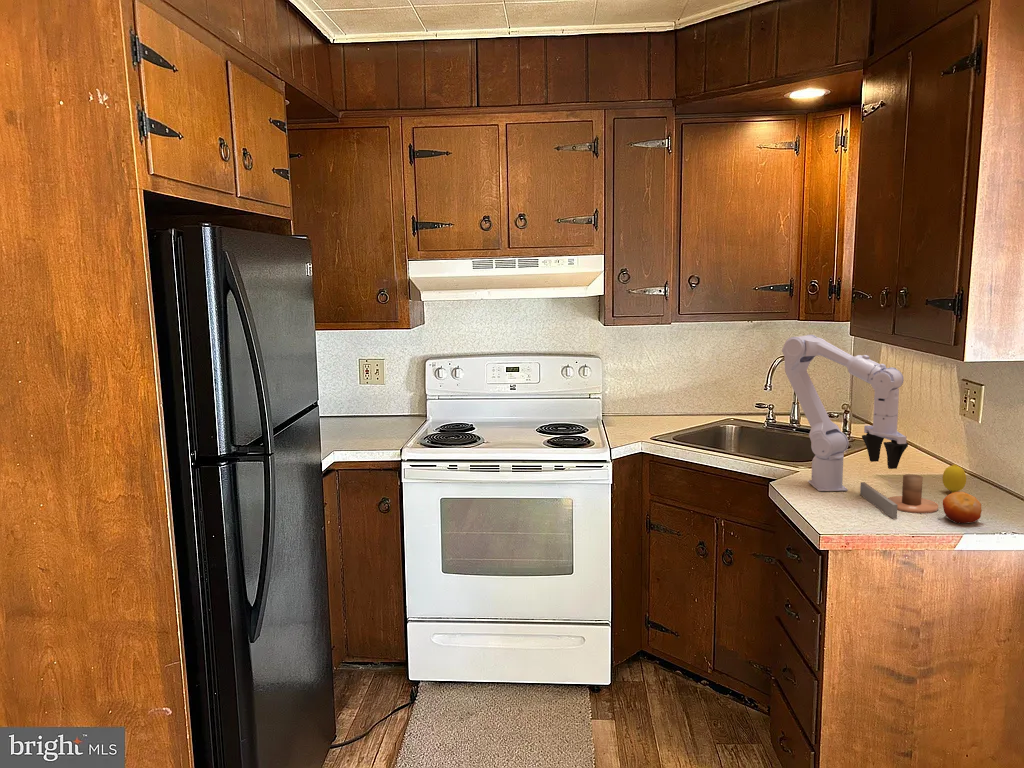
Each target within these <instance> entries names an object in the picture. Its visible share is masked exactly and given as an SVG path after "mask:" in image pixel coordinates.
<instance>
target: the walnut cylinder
mask: <svg viewBox="0 0 1024 768" xmlns="http://www.w3.org/2000/svg"><path fill="white" fill-rule="evenodd" d="M923 479H924V478H923V476H922V475H920V474H913V473H911V474H910V473H908V474H903V475H902V492H901V496H902V503H904V504H907V505H914V506H917V505H921V499H922V498H923V497H922V495H923Z"/></svg>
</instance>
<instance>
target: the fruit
mask: <svg viewBox="0 0 1024 768" xmlns="http://www.w3.org/2000/svg"><path fill="white" fill-rule="evenodd" d="M942 509H943V513H944V514H945V515H944V516H943V517H944V518H945V517H947V519H948V520H950V521H951V522H954V523H955V524H958V523H960V525H961V524H970V523H975V522H977V521H978V520H980V519H981V516H982V511H983V510H982V504H981V502H980V501H979V500H978V498H976V497H975V496H973V495H972V494H969V493H967V492H964V491H957V492H954V493H952V492H951V493H949V494H947V495H946V496H945V497H944V498H942Z"/></svg>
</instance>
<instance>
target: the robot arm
mask: <svg viewBox="0 0 1024 768" xmlns="http://www.w3.org/2000/svg"><path fill="white" fill-rule="evenodd" d="M781 353H782V354H783V357H784V373H785V375H786V377H787V380H788V381H789V383H790V385H791V387H792V389H793V393H795V396H796V398H797V401H798V402H799V405H800V406H801V409H802V410H803V413H804V415H805V417H806V419H807V421H808V425H809V427H810V431H809V434H808V437H809V439H810V442H811V443H810V444H811V445H810V448H811V451H812V453H813V454H814V457H813V458H812V461H811V476H810V477H811V479H809V480H807V482H808V484H810V485H811V486H812V487H813V488H815V489H816V490H817V491H818V492H848V490H849V489H848V488H847V487H846V486H844V485H843V481H844V480H843V479H844V478H843V476H844V453H845V452H846V451H847V450H848V448H849V443H850V442H849V438H848V437H847V435H846V434H845V433H844V432H842V431H841V429H840V427H839V425H838V424H836V423H835V422H833V421H832V420H831V418H830V417H829V414H828V412H827V410H826V408H825V406H824V404H823V401H822V400H821V398H820V396H819V394H818V391H817V390H816V388H815V385H814V383H813V381H812V379H811V377H810V376H809V375H810V374H809V372H808V371H807V370H808V368H809V366H810V364H811V362H812V361H813V360H814V359H815V358H816V357H823V358H825V359H827V360H829V361H832V362H834V363H837V364H839V365H841V366H844V367H846V368H847V372H848V373H849V374H850V375H852V376H853V377H856V378H857V379H860V380H861V381H863V382H865V383H868V384H870V386H871V387H872V389H873V390H874V397H873V415H872V416H873V417H872V425H869V424H868V425H864V426H863V427H864V431H863V432H864V434H863V435H861V439H862V441H863V442H864V444H865V446H866V447H865V448H866V451H867V455H868V458H869V459H868V460H869V462H870V463H872V462H874V463H875V462H879V459H880V457H881V456H880V455H881V448H882V444H883V445H884V448H885V452H886V459H887V461H886V462H887V469H889V470H897V469H898V468H899V467H898V466H899V463H900V460H901V458H902V457H903V456H902V455H904V453H905V450H906V449H907V448H908V446H909V443H908V442H907V436H906V435H903V433H901V432H899V431H898V419H899V418H898V417H899V401H900V400H899V399H900V398H899V395H900V387H902V385H903V384H904V380H905V379H904V375H903V373H902V372H901V371H900V370H899V369H897V368H896V367H893V366H892V367H887V365H886V364H885V363H878V362H876V361H874V360H872V359H870V355H867V354H862V355H861V354H857V355H852V354H850V353H849V352H846V351H844V350H843V349H841V348H839V347H837V346H835V345H834V344H832V343H830V342H828V341H827V340H825V339H824V338H822V337H818V336H816V335H815V334H805V335H799V336H791V337H788V338H787V339H786V340H785V342H784V344H783V346H782V349H781ZM884 439H885V440H889V441H884Z"/></svg>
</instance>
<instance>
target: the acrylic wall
mask: <svg viewBox="0 0 1024 768" xmlns="http://www.w3.org/2000/svg"><path fill="white" fill-rule="evenodd" d="M859 489H860V491H859V492H860V493H859V495H860V496H861V495H862V496H863V497H862V496H861V497H862V498H864V499H865V498H866V499H865V500H867V501H868V502H869V501H870V503H871V504H872V505H874V506H875V507H876V508H877V509H879V510H880V511H882V512H883V513H884V514H886V515H887V516H888V517H890V518H891V519H895V520H896V519H898V510H897V506H898V505H897V504H896V503H894V502H893V501H891V500H890V499H888V498H889V497H887V496H885V495H884V494H883V493H881V492H879V491H878V490H877V489H875V488H873V487H872V486H871V485H869V484H867V482H864V481H863V482H861V481H860V487H859Z"/></svg>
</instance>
